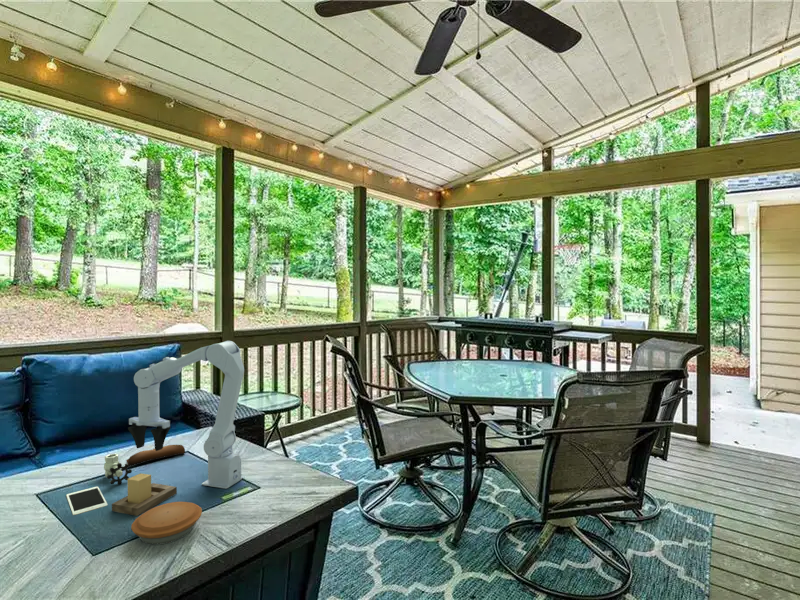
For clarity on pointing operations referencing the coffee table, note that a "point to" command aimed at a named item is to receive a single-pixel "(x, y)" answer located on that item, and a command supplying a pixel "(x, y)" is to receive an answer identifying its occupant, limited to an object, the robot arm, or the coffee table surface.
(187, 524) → the pie
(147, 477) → the square peg
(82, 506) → the cell phone
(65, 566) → the coffee table surface
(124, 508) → the socket block
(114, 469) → the valve
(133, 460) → the sunglasses case
